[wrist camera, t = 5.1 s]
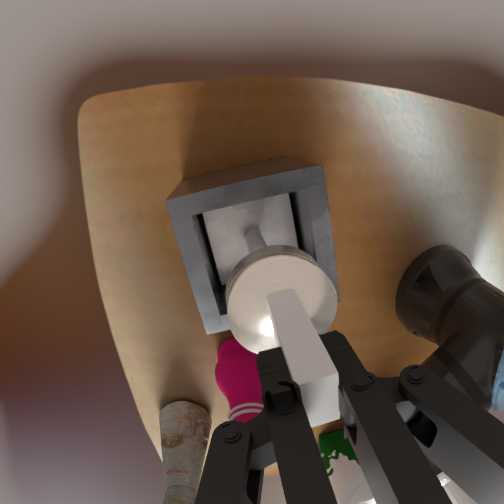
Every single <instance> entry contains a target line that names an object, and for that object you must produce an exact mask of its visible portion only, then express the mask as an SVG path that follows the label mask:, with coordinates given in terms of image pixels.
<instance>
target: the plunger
mask: <svg viewBox="0 0 504 504" xmlns="http://www.w3.org/2000/svg"><path fill="white" fill-rule="evenodd" d="M202 214H203V218H204V222H205V225H206V229H207V233H208V237H209V240H210V244H211V248H212V252H213V255H214V259H215V263H216V266H217V270H218V273H219V277H220V281H221V284H222V285H225V284H227V286H226V304H227V314H228V322H229V327H230V329H231V332H232V334H233V335H234V337H235V339H236V340H237V341H238V342H239V343H240V344H241V345H242V346H243V347H245V348H246V349H247V350H249V351H251V352H253V353H256V354H258V352H260V351H264V350H268V349H272V348H276V347H277V344H276V341H275V337H274V333H273V328H272V324H271V319H270V314H269V310H268V305H267V301H266V296H267V295H271V294H275V293H279V292H283V291H287V290H291V289H294V290H295V292H296V293H297V295H298V297H299V299H300V301H301V303H302V305H303V307H304V308H305V310H306V312H307V314H308V316H309V318H310V320H311V322H312V324H313V325H314V327H315V329H316V331H317V333H318V335H321V334H324V333H327V331H328V330H329V329H330V327H331V325H332V323H333V321H334V318H335V315H336V312H337V294H336V290H335V287H334V285H333V283H332V281H331V280H330V279H329V277H328V276H327V275H326V274H325V272H324V271H323V270H322V269H321V267H320V266H319V265H318V264H317V263H316V261H315V260H314V259H313V258H312V257H311V256H310V255H309V254H307V253H306V252H305V251H303V250H301V249H299V248H298V244H297V238H296V232H295V226H294V220H293V215H292V209H291V204H290V198H289V193H286V194H281V195H277V196H272V197H268V198H263V199H259V200H254V201H250V202H246V203H241V204H237V205H233V206H229V207H224V208H220V209H216V210H212V211H208V212H204V213H202Z"/></svg>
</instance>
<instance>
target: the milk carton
mask: <svg viewBox="0 0 504 504" xmlns="http://www.w3.org/2000/svg"><path fill="white" fill-rule="evenodd" d="M318 448H319V451H320V454H321V457H322V460H323V462H324V465H325V468H326V471H327V474H328V477H329V480H330V482H331V485H332V488H333V491H334V494H335V497H336V500H337V502H338V504H376V502H375V499H374V497H373V494H372V492H371V490H370V487H369V485H368V483H367V480H366V478H365V476H364V473H363V471H362V469H361V466H360V464H359V462H358V459H357V457H356V455H355V452H354V450H353V448H352V445H351V443H350V441H349V438H348V436H347V438H346V439H344V429H342V430H338V431H335V432H331V433H327V434H323V435H319V439H318Z"/></svg>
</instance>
